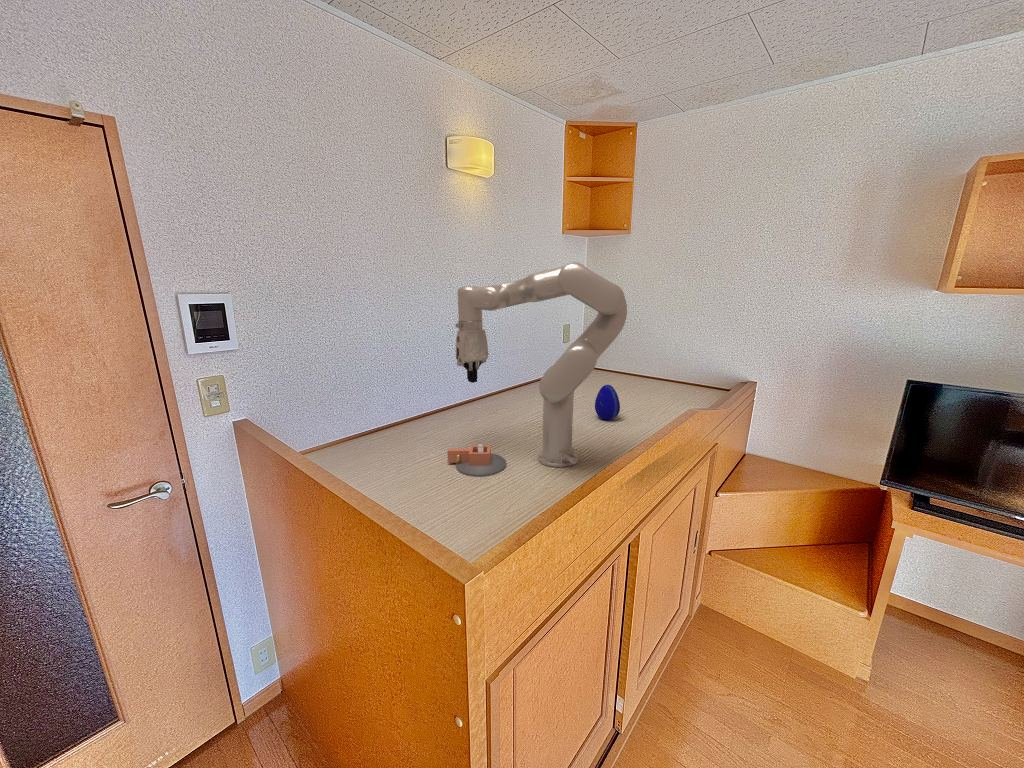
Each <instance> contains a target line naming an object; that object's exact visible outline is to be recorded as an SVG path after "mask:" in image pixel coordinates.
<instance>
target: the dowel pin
mask: <svg viewBox="0 0 1024 768" xmlns="http://www.w3.org/2000/svg"><path fill="white" fill-rule="evenodd" d="M456 461H457V464H460V454H456Z"/></svg>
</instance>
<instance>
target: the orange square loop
mask: <svg viewBox="0 0 1024 768" xmlns="http://www.w3.org/2000/svg"><path fill="white" fill-rule="evenodd" d="M483 449H484V452H478V445H470V447H469V448H466V447H465V448H456V447H455V448H447V451H446V452H447V463H448V464H449V463H452V464H453V463H455V464H456V463H457V461H456V454H460V463H461V462H469V466H474V465H490V461H491V453H492V446H491V445H483Z"/></svg>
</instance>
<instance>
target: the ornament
mask: <svg viewBox="0 0 1024 768" xmlns="http://www.w3.org/2000/svg"><path fill="white" fill-rule="evenodd" d="M620 405H621V403H620V400H619V395H618V393H617V391H616V389H615V388H614V387H613V386H612V385H610V384H604V385H603V386H602V387H601V388H600V389H599V391H598V393H597V394H596V397H595V401H594V410H595V412H596V415H597V416H598V417H599V418H600V419H602V420H613V419H614V418H617V417H618V415H619V414H620V411H621V406H620Z"/></svg>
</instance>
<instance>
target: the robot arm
mask: <svg viewBox="0 0 1024 768" xmlns="http://www.w3.org/2000/svg"><path fill="white" fill-rule="evenodd" d="M566 296H571V297H573V298H574V299H576V300H577V301H579V302H581V303H582V304H584V305H587V306H588V307H589V308H591V309H593V310H594V311H596V312H597V315H596V317H595V318H594V319H593V321H592V322H591V323H590V324H589V325H588V327H586V329H585V330H584V331H583V332H582V334H580V335H579V336H578V337H577V338H576V339H575V341H573V342H572V343H570V344H569V346H568V347H567V349H566V350H565V351H564V353H563V354H561V355H560V357H559V358H558V359H557V361H555V362H554V363H553V365H551V366H550V367H548V368H547V370H546V371H545V372H544V374H543V375H542V377H541V378H540V380H539V384H538V390H539V393H540V396H541V397H542V398H543V401H542V404H543V405H542V408H543V409H542V451H540V452H539V453H538V454H537V460H538V461H539V463H541V464H543V465H545V466H548V467H552V468H563V467H564V468H565V467H569V466H572V465H576V464H577V463H578V461H579V459H580V456H579V455H577V454H576V453H575V448H573V423H574V422H573V418H574V416H573V415H574V394H575V390H577V388H578V387H579V386H580V385H581V384H582V383H583V382H584V381H585V380H586V379H587V378H588V377H589V376H590V374H592V372H593V371H594V369H595V368H596V366H597V363H598V359H599V358H600V357H601V356H602V354H603V353H604V352H605V351H606V350H607V349H608V348H609V347H610V346H611V344H612V343H613V342H615V340H616V338H617V337H618V336H619V334H621V332H622V330H623V328H624V326H625V324H626V322H627V321H626V320H627V316H628V305H627V300H626V295H625V293H624V290H623V289H622V287H620V286H619V285H617V284H616V283H614V282H611V281H610V280H608V279H606V278H604V277H603V276H601V275H599V274H597V272H594V271H592V269H589V268H588V267H587V266H585V265H584V264H582V263H580V262H577V261H574V262H573V261H572V262H569V263H567V264H565V265H563V266H559V267H558V266H557V267H555V268H550V269H547V270H542V271H539V272H538V271H537V272H535V273H534V272H533V273H530V274H529V275H528V276H526V277H524V278H522V279H518V280H515V281H510V282H507V283H503V284H496V285H493V284H492V285H485V286H470V285H469V286H467V285H466V286H460V287H459V288H458V289H457V311H458V314H457V315H458V321H457V322H458V323H455V328H458V330H457V332H456V338H455V339H456V340H455V359H456V366H458V367H463V368H464V369H465V370H466V375H467V377H466V379H467V381H468V382H469V383H472V384H473V383H478V370H479V369H480V366H481V365H482V364H485V363H486V362H487V359H489V345H488V337H487V334H486V330H485V329H483V311H489V312H490V311H493V312H494V311H496V310H501V309H505V308H508V307H509V308H510V307H513V306H518V305H522V304H526V303H538V302H543V301H548V300H552V299H553V300H554V299H557V298H561V297H566Z"/></svg>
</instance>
